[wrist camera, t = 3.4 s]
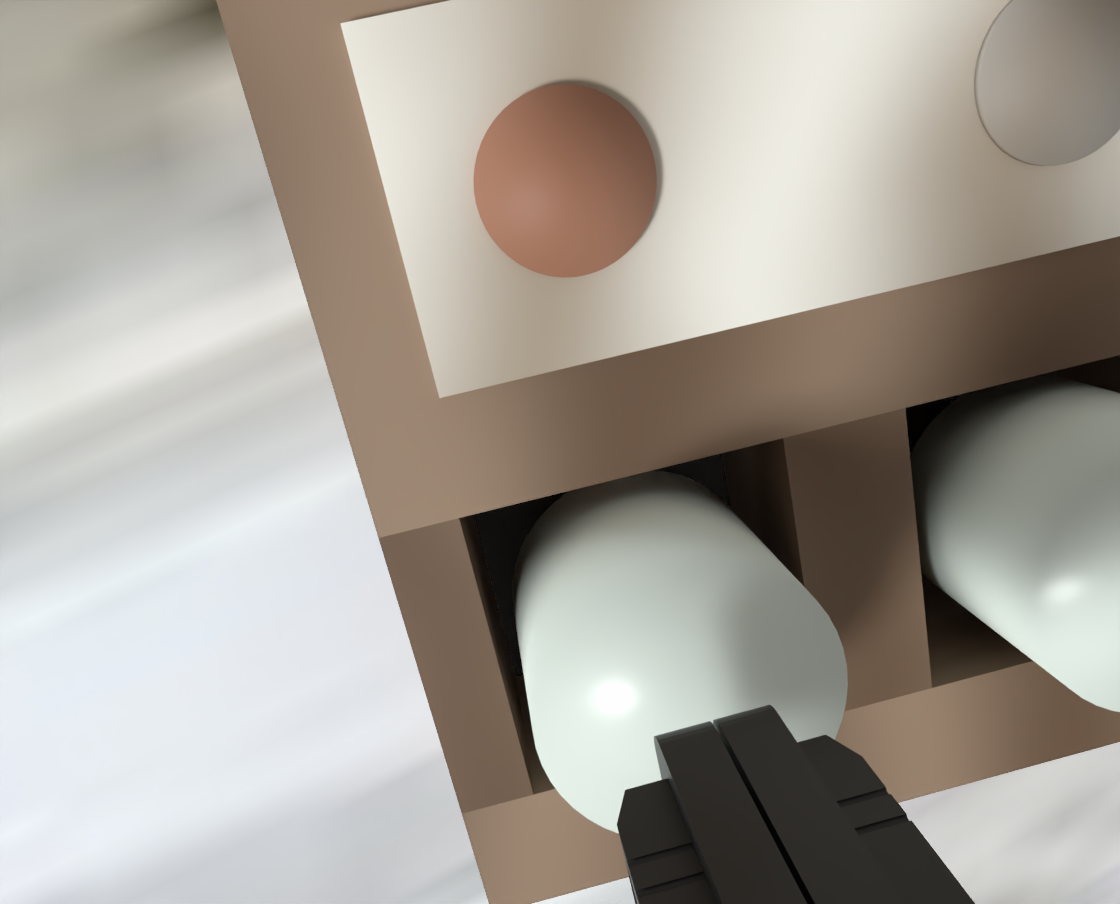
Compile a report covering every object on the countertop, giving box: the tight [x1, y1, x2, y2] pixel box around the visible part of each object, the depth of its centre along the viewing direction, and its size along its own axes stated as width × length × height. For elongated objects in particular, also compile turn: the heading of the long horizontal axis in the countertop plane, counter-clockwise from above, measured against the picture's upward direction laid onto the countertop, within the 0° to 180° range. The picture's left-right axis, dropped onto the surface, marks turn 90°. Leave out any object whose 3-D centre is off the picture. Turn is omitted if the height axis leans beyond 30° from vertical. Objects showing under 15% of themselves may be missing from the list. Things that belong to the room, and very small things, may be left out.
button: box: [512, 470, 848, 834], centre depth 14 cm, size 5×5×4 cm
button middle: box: [910, 374, 1120, 712], centre depth 14 cm, size 5×5×4 cm
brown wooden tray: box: [216, 0, 1120, 904], centre depth 16 cm, size 23×16×4 cm
